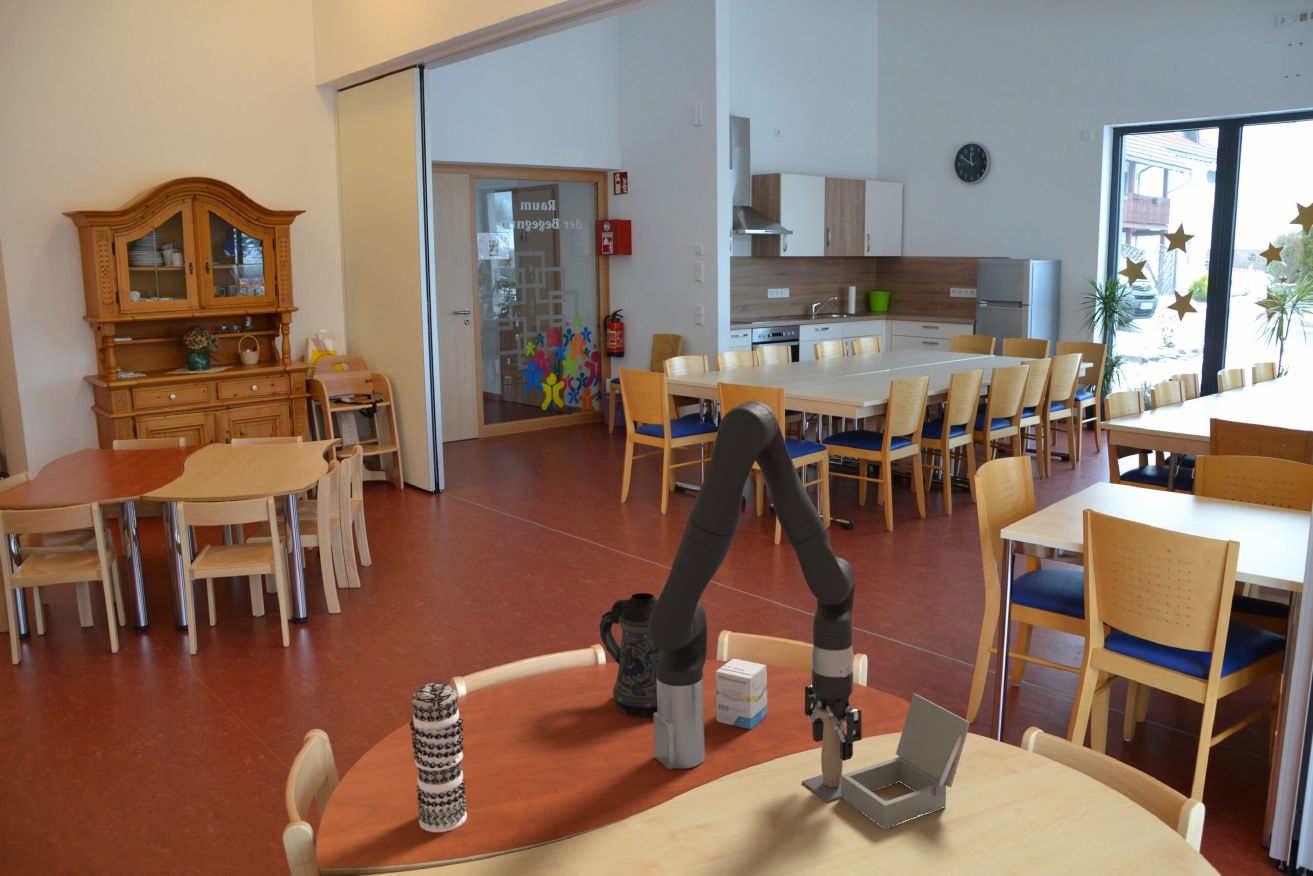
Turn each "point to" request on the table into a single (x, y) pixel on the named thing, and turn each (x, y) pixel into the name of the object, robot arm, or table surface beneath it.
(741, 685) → the ink box
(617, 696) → the beer stein
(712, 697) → the table surface
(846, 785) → the case
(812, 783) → the mat
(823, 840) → the table surface
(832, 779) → the handle
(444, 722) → the decorative candle
